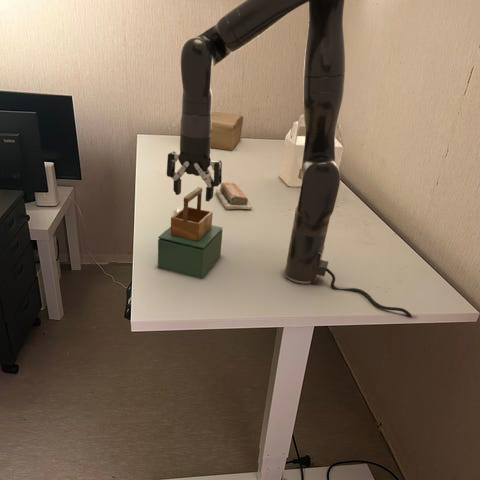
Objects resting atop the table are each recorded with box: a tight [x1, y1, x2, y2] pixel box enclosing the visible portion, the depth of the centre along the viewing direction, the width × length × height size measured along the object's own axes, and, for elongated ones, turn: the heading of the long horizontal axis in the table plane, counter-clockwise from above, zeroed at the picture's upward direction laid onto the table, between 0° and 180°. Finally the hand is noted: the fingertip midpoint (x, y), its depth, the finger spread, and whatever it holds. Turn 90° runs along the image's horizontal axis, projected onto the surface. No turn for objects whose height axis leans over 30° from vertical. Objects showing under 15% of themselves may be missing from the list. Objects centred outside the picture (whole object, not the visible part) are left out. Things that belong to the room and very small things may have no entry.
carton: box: [157, 226, 223, 279], centre depth 130 cm, size 15×13×9 cm
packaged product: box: [215, 182, 253, 211], centre depth 176 cm, size 18×5×10 cm
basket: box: [170, 186, 214, 242], centre depth 124 cm, size 10×8×11 cm
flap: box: [206, 224, 223, 238], centre depth 130 cm, size 7×13×1 cm, turn 72°
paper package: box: [210, 111, 244, 151], centre depth 244 cm, size 27×26×14 cm
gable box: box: [279, 113, 344, 188], centre depth 199 cm, size 22×13×28 cm, turn 103°
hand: (193, 197), depth 122 cm, fingers open, 8 cm apart
